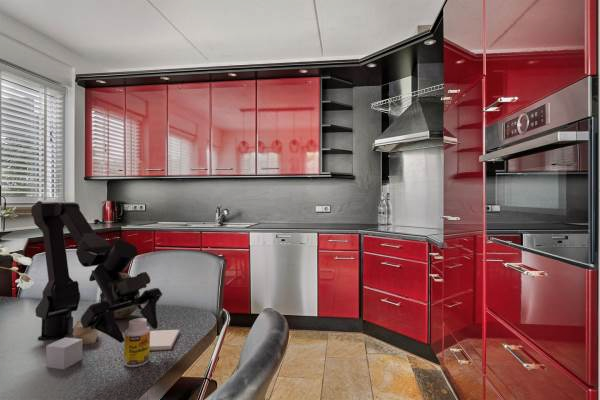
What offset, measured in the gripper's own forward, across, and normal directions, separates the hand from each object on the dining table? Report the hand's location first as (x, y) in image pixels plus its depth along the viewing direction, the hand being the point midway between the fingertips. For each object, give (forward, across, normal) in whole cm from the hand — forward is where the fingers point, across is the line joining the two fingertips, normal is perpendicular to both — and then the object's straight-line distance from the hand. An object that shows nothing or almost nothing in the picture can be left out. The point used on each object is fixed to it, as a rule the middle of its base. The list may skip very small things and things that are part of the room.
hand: (140, 334), depth 79 cm
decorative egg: (-18, +18, +28) cm, 38 cm away
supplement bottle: (+4, 0, +6) cm, 7 cm away
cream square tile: (0, +10, +10) cm, 14 cm away
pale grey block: (-6, -8, +16) cm, 19 cm away
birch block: (-12, +2, +22) cm, 26 cm away
